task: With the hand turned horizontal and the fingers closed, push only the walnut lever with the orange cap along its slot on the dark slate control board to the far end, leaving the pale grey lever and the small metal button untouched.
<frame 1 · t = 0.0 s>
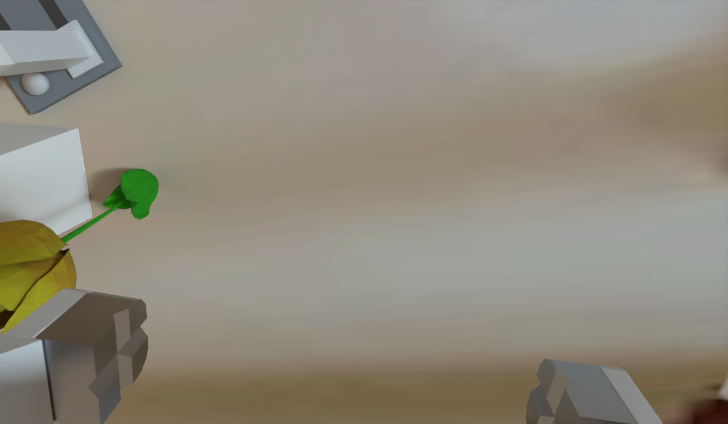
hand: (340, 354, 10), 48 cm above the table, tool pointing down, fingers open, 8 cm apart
milk: (42, 170, 60), on the table
flower: (156, 179, 60), on the table
control board: (25, 8, 53), on the table
grey lever: (32, 52, 46), point 9 cm above the table, slide at 0.0 cm
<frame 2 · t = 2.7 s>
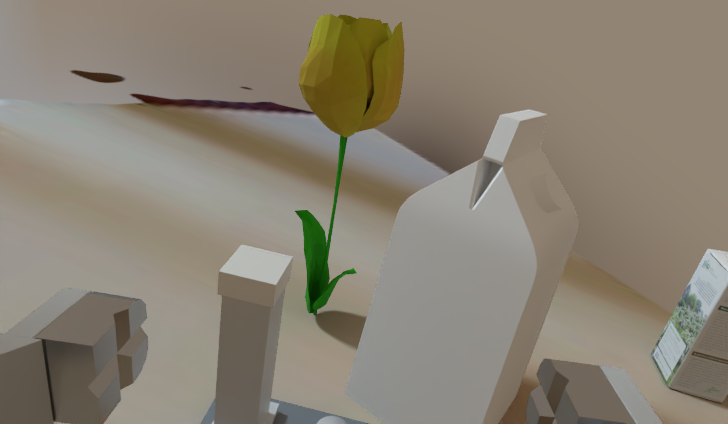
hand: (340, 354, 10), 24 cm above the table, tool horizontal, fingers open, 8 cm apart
syrup box: (682, 379, 51), on the table
milk: (433, 396, 42), on the table
flower: (313, 314, 50), on the table
grey lever: (248, 354, 31), point 8 cm above the table, slide at 0.0 cm
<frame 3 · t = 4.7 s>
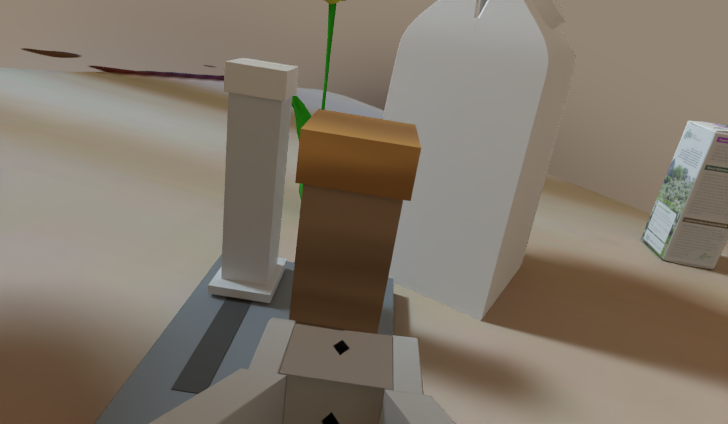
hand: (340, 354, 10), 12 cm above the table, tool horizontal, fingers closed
walnut lever: (335, 315, 17), point 8 cm above the table, slide at 0.0 cm
syrup box: (673, 255, 52), on the table
milk: (440, 266, 41), on the table
flower: (308, 212, 48), on the table
control board: (277, 366, 26), on the table
grey lever: (256, 181, 29), point 9 cm above the table, slide at 0.0 cm
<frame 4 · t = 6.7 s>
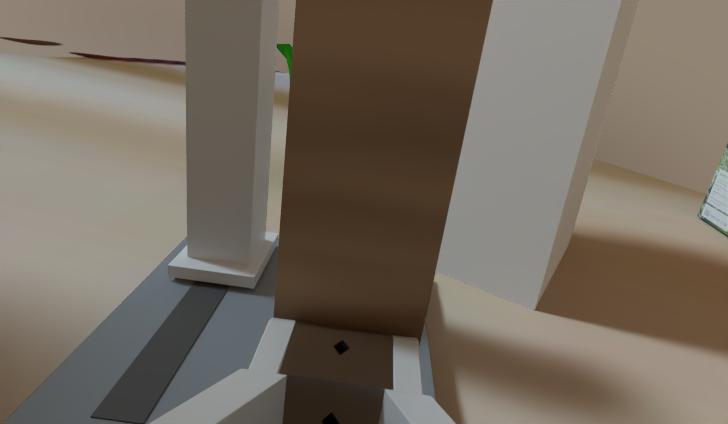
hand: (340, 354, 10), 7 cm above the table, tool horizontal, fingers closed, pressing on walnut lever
walnut lever: (357, 251, 10), point 8 cm above the table, slide at 1.4 cm, touching gripper
milk: (471, 246, 33), on the table
control board: (262, 377, 18), on the table
grey lever: (232, 120, 21), point 8 cm above the table, slide at 0.0 cm
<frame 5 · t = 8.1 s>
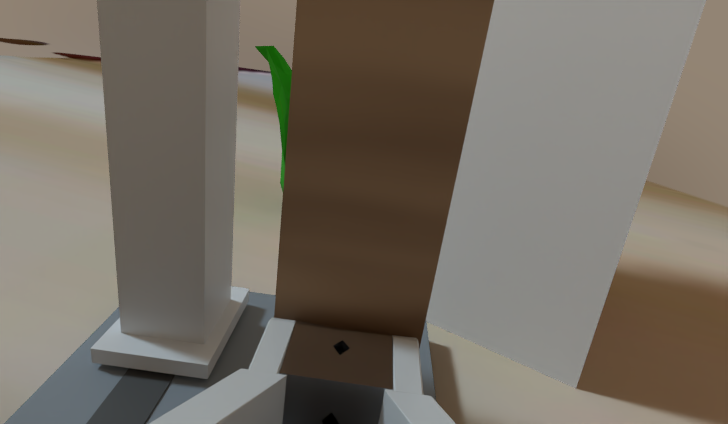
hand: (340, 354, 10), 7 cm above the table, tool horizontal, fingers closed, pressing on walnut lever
walnut lever: (358, 253, 10), point 9 cm above the table, slide at 7.4 cm, touching gripper
milk: (489, 289, 28), on the table
flower: (295, 213, 35), on the table
grey lever: (177, 152, 16), point 9 cm above the table, slide at 0.0 cm
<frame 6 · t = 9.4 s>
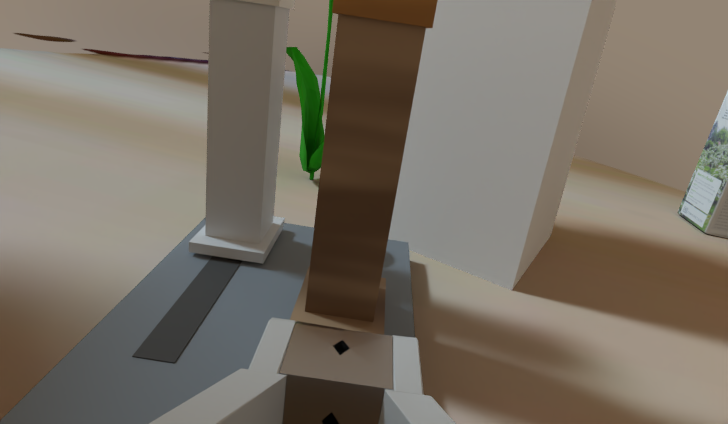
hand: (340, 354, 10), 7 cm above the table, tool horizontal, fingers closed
walnut lever: (362, 164, 19), point 8 cm above the table, slide at 7.4 cm
syrup box: (715, 230, 47), on the table
milk: (459, 235, 36), on the table
flower: (310, 180, 43), on the table
control board: (270, 335, 21), on the table
grey lever: (246, 116, 24), point 8 cm above the table, slide at 0.0 cm
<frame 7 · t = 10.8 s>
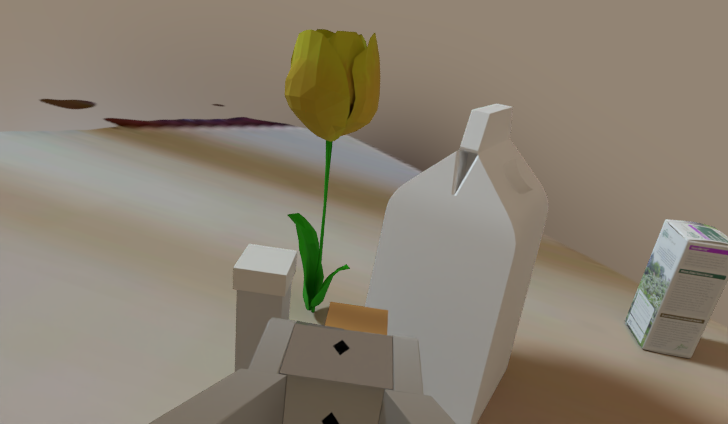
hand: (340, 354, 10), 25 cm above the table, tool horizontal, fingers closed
walnut lever: (342, 419, 28), point 9 cm above the table, slide at 7.4 cm
syrup box: (654, 341, 56), on the table
milk: (431, 375, 46), on the table
flower: (312, 312, 52), on the table
grey lever: (262, 344, 34), point 9 cm above the table, slide at 0.0 cm
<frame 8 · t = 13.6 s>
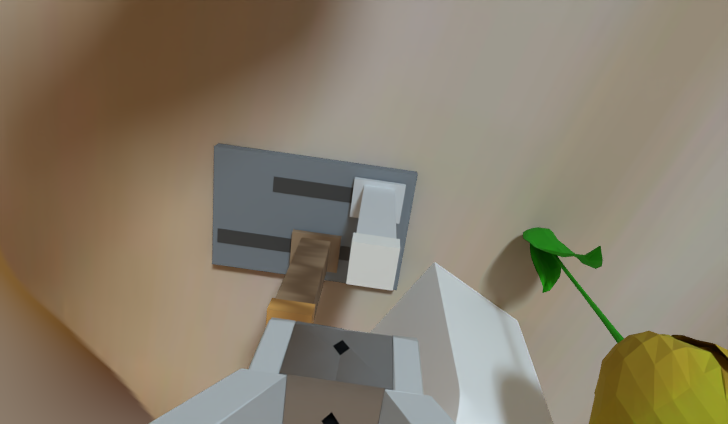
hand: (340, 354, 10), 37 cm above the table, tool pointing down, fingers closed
walnut lever: (303, 284, 42), point 8 cm above the table, slide at 7.4 cm
milk: (442, 325, 53), on the table
flower: (537, 230, 48), on the table
control board: (311, 217, 49), on the table
grey lever: (375, 227, 40), point 8 cm above the table, slide at 0.0 cm
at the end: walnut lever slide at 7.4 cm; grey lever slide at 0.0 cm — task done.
